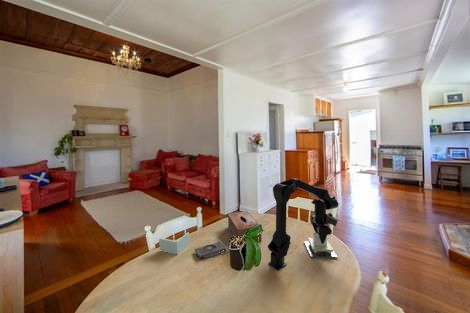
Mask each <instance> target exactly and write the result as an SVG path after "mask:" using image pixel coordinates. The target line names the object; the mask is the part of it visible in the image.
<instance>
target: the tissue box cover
mask: <svg viewBox="0 0 470 313" xmlns="http://www.w3.org/2000/svg"><path fill="white" fill-rule="evenodd" d="M227 225H228V229H229V231H230V230H231V231H230V233H231V232H232V233H231V234H233V235H234V236H243V235H244V234H245V233H246V231H247V230H248V229H252V228H254V227H256V226H258V225H261V224H260V223H259V222H258V220H256V218H255V217H254V216H253V215H252V214H251V213H250V212H249V211H247V210H245V211H238V212H231V213H230V212H229V213H227ZM233 235H232V236H233ZM234 236H233V237H234ZM258 237H259V242H258V243H262V242H263V241H262V237H263V236H262V233H261V234H259V235H258Z"/></svg>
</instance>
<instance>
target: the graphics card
mask: <svg viewBox="0 0 470 313" xmlns="http://www.w3.org/2000/svg"><path fill="white" fill-rule="evenodd" d="M217 240H218V241H216V242H214V243H210V244H206V245H204V246H201V247H200V246H199V247H197V248H194V252H195V253H196V256H198V258H199V259H200V258H204V259H206V258H209V256H210V257H211V258H215V257H218V256H222V255H224V254H226V253H225V252H227V253H229V246H226V244H224V243H223V241H222V240H221V239H220V238H218V239H217ZM223 250H224V251H223ZM219 252H220V253H219ZM223 253H224V254H223ZM214 255H215V256H214Z"/></svg>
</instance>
